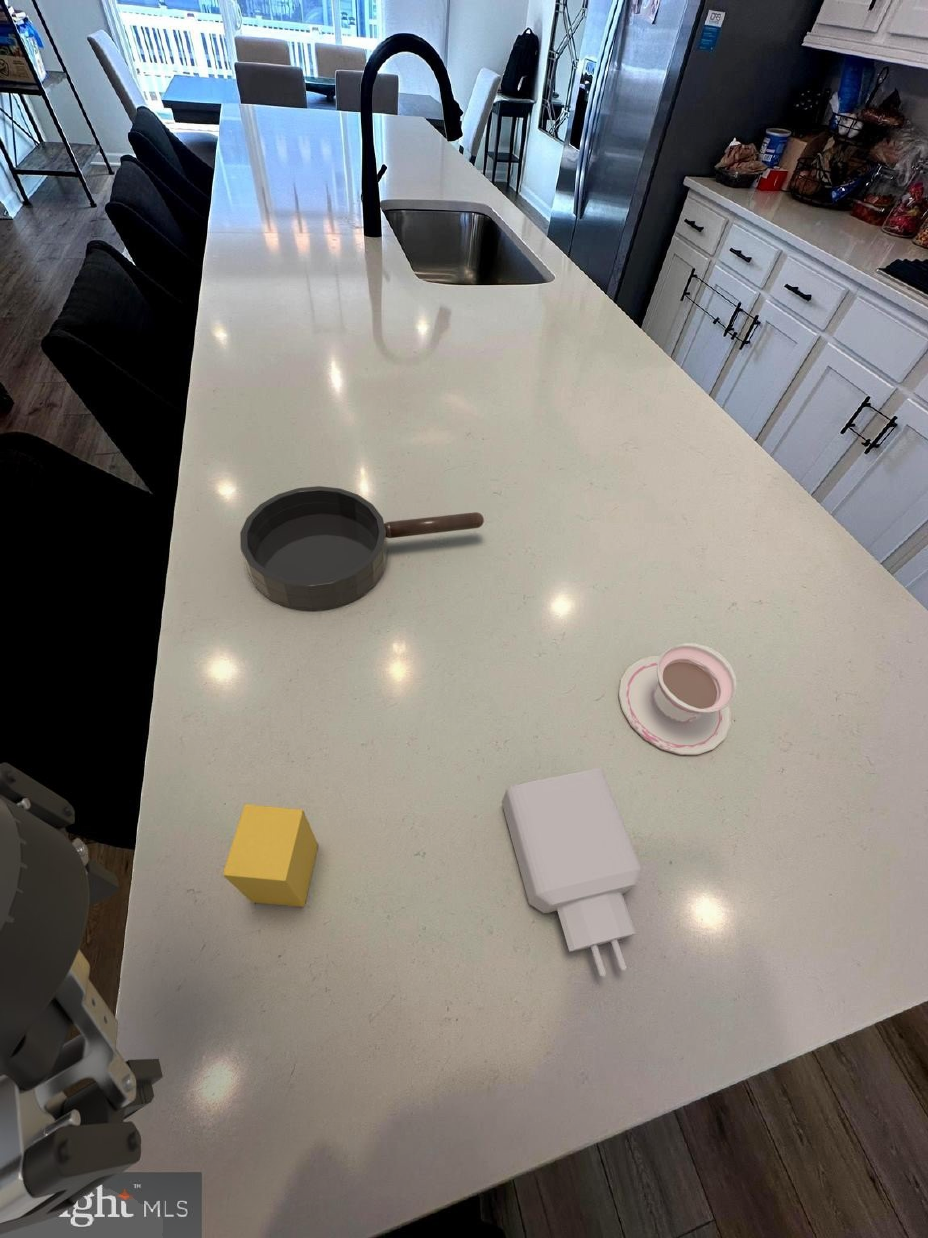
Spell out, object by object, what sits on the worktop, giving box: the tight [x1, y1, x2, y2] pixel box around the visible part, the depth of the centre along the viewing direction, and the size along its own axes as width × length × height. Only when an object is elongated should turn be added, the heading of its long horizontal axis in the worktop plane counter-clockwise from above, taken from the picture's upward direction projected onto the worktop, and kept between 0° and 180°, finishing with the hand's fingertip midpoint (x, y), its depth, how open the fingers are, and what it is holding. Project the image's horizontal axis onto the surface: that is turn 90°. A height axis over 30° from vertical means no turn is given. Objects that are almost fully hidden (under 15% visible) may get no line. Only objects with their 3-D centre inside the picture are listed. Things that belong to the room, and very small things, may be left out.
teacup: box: [618, 642, 738, 756], centre depth 58 cm, size 12×12×6 cm
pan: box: [239, 485, 388, 612], centre depth 67 cm, size 17×17×4 cm
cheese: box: [222, 803, 319, 908], centre depth 44 cm, size 5×4×9 cm
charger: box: [501, 768, 642, 978], centre depth 47 cm, size 5×9×15 cm
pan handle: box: [384, 511, 485, 539], centre depth 70 cm, size 13×2×2 cm, turn 104°
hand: (116, 983), depth 26 cm, fingers open, 8 cm apart
